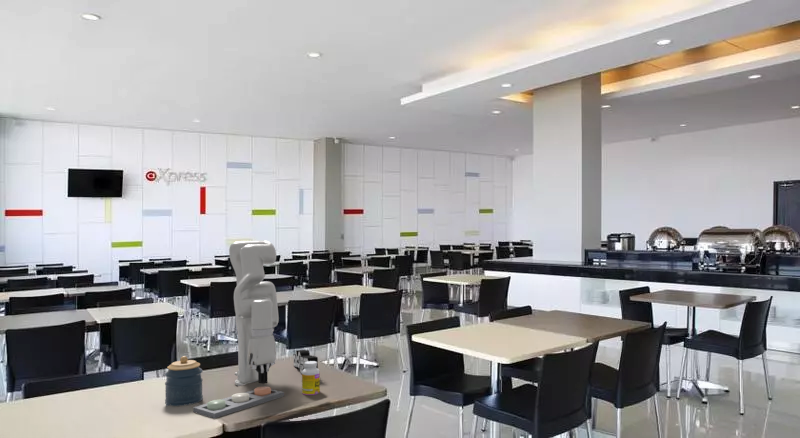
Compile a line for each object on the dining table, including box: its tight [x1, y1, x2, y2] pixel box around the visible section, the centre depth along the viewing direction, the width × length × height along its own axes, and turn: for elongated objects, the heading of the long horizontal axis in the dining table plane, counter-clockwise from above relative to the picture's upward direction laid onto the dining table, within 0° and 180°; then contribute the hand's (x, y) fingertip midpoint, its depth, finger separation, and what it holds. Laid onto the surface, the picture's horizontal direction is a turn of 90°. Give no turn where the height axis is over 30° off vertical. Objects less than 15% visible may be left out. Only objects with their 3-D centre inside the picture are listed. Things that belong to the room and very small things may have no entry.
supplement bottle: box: [301, 361, 321, 396], centre depth 213 cm, size 7×7×13 cm
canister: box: [164, 355, 204, 407], centre depth 206 cm, size 13×13×18 cm
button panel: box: [192, 388, 285, 419], centre depth 200 cm, size 30×12×3 cm, turn 143°
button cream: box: [231, 392, 249, 403], centre depth 200 cm, size 6×6×3 cm
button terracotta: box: [253, 385, 272, 397], centre depth 208 cm, size 6×6×3 cm
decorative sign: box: [292, 349, 319, 375], centre depth 250 cm, size 32×4×10 cm, turn 22°
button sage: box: [206, 399, 226, 411], centre depth 192 cm, size 6×6×3 cm
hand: (263, 382), depth 208 cm, fingers closed
